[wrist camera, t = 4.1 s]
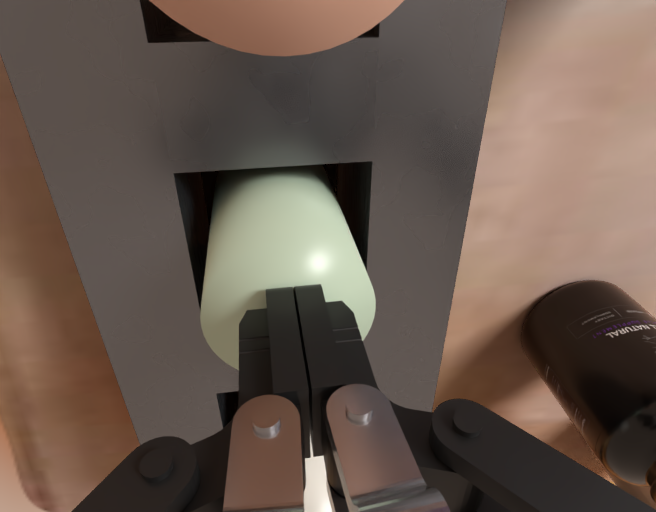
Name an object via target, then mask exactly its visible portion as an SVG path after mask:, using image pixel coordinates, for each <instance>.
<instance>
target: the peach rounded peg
mask: <svg viewBox="0 0 656 512" xmlns="http://www.w3.org/2000/svg"><path fill="white" fill-rule="evenodd" d="M149 1H150V2H152V3H153V4H154V5H155V6H157V7H158V8H159V9H160V10H162V11H163V12H164V13H165V14H167V15H168V16H169V17H170V18H172V19H173V20H175V21H176V22H178V23H179V24H181V25H183V26H184V27H186V28H187V29H189V30H190V31H192V32H194V33H195V34H198V35H200V36H202V37H204V38H206V39H208V40H210V41H212V42H214V43H217V44H219V45H222V46H226V47H229V48H232V49H235V50H238V51H241V52H247V53H252V54H258V55H263V56H295V55H305V54H311V53H315V52H319V51H323V50H327V49H331V48H333V47H336V46H338V45H341V44H343V43H346V42H348V41H351V40H352V39H354V38H356V37H358V36H360V35H361V34H363V33H365V32H367V31H368V30H370V29H372V28H373V27H374V26H376V25H377V24H378V23H379V22H381V21H382V20H383V19H385V18H386V17H387V16H389V15H390V14H391V13H392V12H393V11H394V10H395V9H396V8H397V7H398V6H399V5H400V4H401V3H402V2H403V1H404V0H149Z"/></svg>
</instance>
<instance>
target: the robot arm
mask: <svg viewBox="0 0 656 512" xmlns="http://www.w3.org/2000/svg"><path fill="white" fill-rule="evenodd" d="M265 291H266V304H267V308H264V309H253V310H247V311H246V313H245V314H244V316H243V318H242V320H241V321H240V323H239V401H238V408H237V411H236V413H235V415H234V417H233V418H232V420H231V421H230V422H229V423H228V424H227V425H226V426H225V427H224V428H223V429H222V430H220V431H219V432H217V433H216V434H214V435H212V436H210V437H207V438H205V439H203V440H201V441H198V442H196V443H194V444H191V445H190V444H189V443H188V442H187V441H185V440H183V439H181V438H178V437H174V436H163V437H158V438H154V439H152V440H149V441H147V442H145V443H143V444H142V445H140V446H139V447H137V448H136V449H135V450H134V451H133V452H131V453H130V454H129V455H128V456H127V457H126V458H125V459H124V460H123V461H122V462H121V463H120V464H119V465H118V466H117V467H116V468H115V469H114V470H113V471H112V472H111V473H110V474H109V475H108V476H107V477H106V478H105V479H104V480H103V481H102V482H101V483H100V484H99V485H98V486H97V487H96V488H95V489H94V490H93V491H92V492H91V493H90V494H89V495H88V496H87V497H86V498H85V499H84V500H83V501H82V502H81V503H80V504H79V505H78V506H77V507H76V508H75V509H74V510H73V511H72V512H304V490H305V487H306V469H305V458H311V452H310V436H311V443H312V450H313V457H317V456H324V462H325V468H326V487H327V493H328V497H329V501H330V505H331V509H332V512H656V503H655V502H654V500H653V499H652V497H651V495H650V488H651V487H643V486H637V485H633V484H630V483H627V482H625V481H623V480H621V479H619V478H617V477H616V476H614V475H613V474H611V473H610V472H609V471H608V470H607V469H606V468H605V467H604V466H603V464H602V463H601V462H600V460H599V459H598V458H597V456H596V455H595V454H594V452H593V451H592V449H591V448H590V446H589V445H588V444H587V442H586V441H585V442H586V444H587V445H588V447H589V448H590V450H591V451H592V452H593V454H594V455H595V457H596V458H597V459H598V461H599V462H600V464H601V465H602V466H603V468H604V469H605V470H606V472H607V473H608V475H609V476H610V477H611V479H612V480H613V482H614V483H615V484H616V486H615V485H614V484H612V483H610V482H609V481H607V480H605V479H604V478H602V477H600V476H599V475H597V474H595V473H594V472H592V471H590V470H589V469H587V468H585V467H584V466H582V465H580V464H579V463H577V462H575V461H574V460H572V459H570V458H569V457H567V456H565V455H564V454H562V453H560V452H559V451H557V450H555V449H554V448H552V447H550V446H549V445H547V444H545V443H544V442H542V441H540V440H539V439H537V438H535V437H534V436H532V435H530V434H529V433H527V432H525V431H524V430H522V429H520V428H519V427H517V426H515V425H514V424H512V423H510V422H509V421H507V420H505V419H504V418H502V417H500V416H499V415H497V414H495V413H494V412H492V411H490V410H489V409H487V408H485V407H484V406H482V405H480V404H478V403H476V402H473V401H470V400H466V399H452V400H448V401H445V402H443V403H441V404H440V405H439V406H438V407H437V408H436V409H435V411H434V413H433V412H427V411H420V410H414V409H409V408H405V407H402V406H399V405H397V404H395V403H393V402H392V401H390V400H389V399H388V398H387V397H386V396H385V395H384V394H383V393H382V392H381V391H380V390H379V388H378V386H377V384H376V381H375V378H374V374H373V371H372V368H371V365H370V362H369V359H368V356H367V353H366V350H365V347H364V343H363V341H362V337H361V334H360V331H359V329H358V325H357V322H356V319H355V315H354V312H353V311H352V310H351V309H350V308H349V307H348V306H347V305H346V304H345V303H344V302H343V301H333V302H326V301H325V297H324V293H323V289H322V286H321V284H315V285H304V286H294V295H293V289H292V287H284V288H273V289H265ZM294 298H295V301H294ZM584 440H585V439H584Z"/></svg>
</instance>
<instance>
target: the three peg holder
mask: <svg viewBox="0 0 656 512" xmlns="http://www.w3.org/2000/svg"><path fill="white" fill-rule="evenodd" d="M506 2H507V0H404V1H403V2H402V3H401V4H400V5H399V6H398V7H397V8H396V9H395V10H394V11H393V12H392V13H391V14H390V15H389V16H387V17H386V18H385V19H383V20H382V21H381V22H379V23H378V24H377V25H376V26H374V27H373V28H372V29H370V30H368V31H367V32H365V33H363V34H361V35H360V36H358V37H356V38H354V39H352V40H351V41H348V42H346V43H343V44H341V45H338V46H336V47H333V48H331V49H327V50H323V51H319V52H315V53H311V54H305V55H295V56H263V55H258V54H252V53H247V52H241V51H238V50H235V49H232V48H229V47H226V46H222V45H219V44H217V43H214V42H212V41H210V40H208V39H206V38H204V37H202V36H200V35H198V34H195V33H194V32H192V31H190V30H189V29H187V28H186V27H184V26H183V25H181V24H179V23H178V22H176V21H175V20H173V19H172V18H170V17H169V16H168V15H167V14H165V13H164V12H163V11H162V10H160V9H159V8H158V7H157V6H155V5H154V4H153V3H152V2H150V1H149V0H0V54H1V57H2V60H3V62H4V65H5V68H6V71H7V74H8V76H9V79H10V82H11V85H12V88H13V90H14V93H15V96H16V99H17V102H18V104H19V107H20V110H21V113H22V116H23V118H24V121H25V124H26V127H27V130H28V132H29V135H30V138H31V141H32V144H33V146H34V149H35V152H36V155H37V158H38V160H39V163H40V166H41V169H42V172H43V174H44V177H45V180H46V183H47V186H48V188H49V191H50V194H51V197H52V200H53V202H54V205H55V208H56V211H57V214H58V216H59V219H60V222H61V225H62V228H63V230H64V233H65V236H66V239H67V242H68V244H69V247H70V250H71V253H72V256H73V258H74V261H75V264H76V267H77V269H78V272H79V275H80V278H81V281H82V283H83V286H84V289H85V292H86V295H87V297H88V300H89V303H90V306H91V309H92V311H93V314H94V317H95V320H96V323H97V325H98V328H99V331H100V334H101V337H102V339H103V342H104V345H105V348H106V351H107V353H108V356H109V359H110V362H111V365H112V367H113V370H114V373H115V376H116V379H117V381H118V384H119V387H120V390H121V393H122V395H123V398H124V401H125V404H126V407H127V409H128V412H129V415H130V418H131V421H132V423H133V426H134V429H135V432H136V435H137V437H138V440H139V443H140V445H142V444H143V443H145V442H147V441H149V440H152V439H154V438H158V437H163V436H174V437H178V438H181V439H183V440H185V441H187V442H188V443H189V444H190V445H191V444H194V443H196V442H198V441H201V440H203V439H205V438H207V437H210V436H212V435H214V434H216V433H217V432H219V431H220V430H222V429H223V428H224V427H225V426H226V425H227V424H228V423H229V422H230V421H231V420H232V418H233V417H234V415H235V413H236V411H237V408H238V401H239V370H237V369H235V368H233V367H232V366H230V365H228V364H227V363H225V362H224V361H223V360H222V359H220V358H219V357H218V356H217V355H216V354H215V353H214V351H213V350H212V349H211V347H210V346H209V345H208V343H207V341H206V339H205V337H204V335H203V331H202V328H201V320H200V313H201V302H202V293H203V285H204V276H205V267H206V258H207V250H208V241H209V232H210V229H209V222H208V216H207V210H206V204H205V197H204V191H203V185H202V179H201V173H200V172H203V171H219V170H236V169H252V168H269V167H285V166H302V165H318V164H334V163H338V184H337V200H338V203H339V205H340V208H341V210H342V213H343V215H344V218H345V220H346V222H347V225H348V227H349V230H350V232H351V235H352V237H353V240H354V242H355V245H356V247H357V249H358V252H359V254H360V257H361V259H362V262H363V264H364V267H365V269H366V272H367V274H368V276H369V279H370V281H371V284H372V287H373V290H374V294H375V299H376V309H375V316H374V320H373V323H372V326H371V328H370V330H369V332H368V334H367V336H366V337H365V339H364V340H363V343H364V347H365V350H366V353H367V356H368V359H369V362H370V365H371V368H372V371H373V374H374V378H375V381H376V384H377V386H378V388H379V390H380V391H381V392H382V393H383V394H384V395H385V396H386V397H387V398H388V399H389V400H390V401H392V402H393V403H395V404H397V405H399V406H402V407H405V408H409V409H414V410H420V411H427V412H432V408H433V402H434V397H435V391H436V386H437V380H438V375H439V369H440V364H441V359H442V353H443V348H444V342H445V337H446V331H447V326H448V320H449V315H450V309H451V304H452V298H453V293H454V287H455V282H456V276H457V271H458V265H459V260H460V254H461V249H462V243H463V238H464V232H465V227H466V221H467V216H468V210H469V205H470V200H471V194H472V189H473V183H474V178H475V172H476V167H477V161H478V156H479V150H480V145H481V139H482V134H483V128H484V123H485V117H486V112H487V106H488V101H489V95H490V90H491V84H492V79H493V73H494V68H495V62H496V57H497V52H498V46H499V41H500V35H501V30H502V24H503V19H504V13H505V8H506Z"/></svg>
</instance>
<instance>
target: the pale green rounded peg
mask: <svg viewBox="0 0 656 512" xmlns="http://www.w3.org/2000/svg"><path fill="white" fill-rule="evenodd" d="M315 284H321V286H322V289H323V293H324V297H325V301H326V302H333V301H343V302H344V303H345V304H346V305H347V306H348V307H349V308H350V309H351V310H352V311H353V312H354V315H355V319H356V322H357V325H358V329H359V331H360V334H361V337H362V341H363V340H364V339H365V337H366V336H367V334H368V332H369V330H370V328H371V326H372V323H373V320H374V316H375V309H376V299H375V294H374V290H373V287H372V284H371V281H370V279H369V276H368V274H367V272H366V269H365V267H364V264H363V262H362V259H361V257H360V254H359V252H358V249H357V247H356V245H355V242H354V240H353V237H352V235H351V232H350V230H349V227H348V225H347V222H346V220H345V218H344V215H343V213H342V210H341V208H340V205H339V203H338V200H337V198H336V195H335V193H334V191H333V188H332V186H331V183H330V181H329V178H328V176H327V173H326V171H325V169H324V167H323V165H322V164H318V165H302V166H285V167H269V168H252V169H236V170H219V173H218V175H217V178H216V182H215V189H214V198H213V206H212V215H211V224H210V232H209V241H208V250H207V258H206V267H205V276H204V285H203V293H202V302H201V313H200V320H201V328H202V331H203V335H204V337H205V339H206V341H207V343H208V345H209V346H210V347H211V349H212V350H213V351H214V353H215V354H216V355H217V356H218V357H219V358H220V359H222V360H223V361H224V362H225V363H227V364H228V365H230V366H232V367H233V368H235V369H237V370H239V323H240V321H241V320H242V318H243V316H244V314H245V313H246V311H247V310H253V309H264V308H267V304H266V291H265V289H273V288H284V287H292V289H293V295H294V286H304V285H315ZM294 301H295V298H294Z"/></svg>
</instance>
